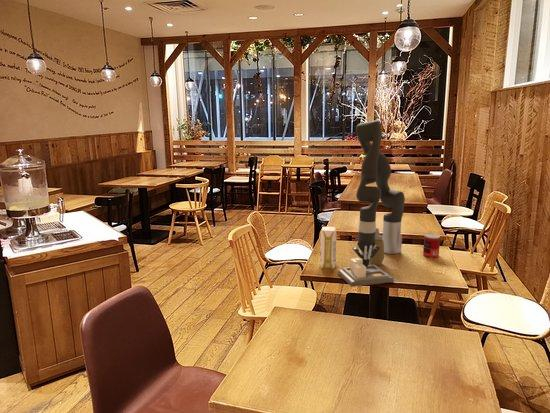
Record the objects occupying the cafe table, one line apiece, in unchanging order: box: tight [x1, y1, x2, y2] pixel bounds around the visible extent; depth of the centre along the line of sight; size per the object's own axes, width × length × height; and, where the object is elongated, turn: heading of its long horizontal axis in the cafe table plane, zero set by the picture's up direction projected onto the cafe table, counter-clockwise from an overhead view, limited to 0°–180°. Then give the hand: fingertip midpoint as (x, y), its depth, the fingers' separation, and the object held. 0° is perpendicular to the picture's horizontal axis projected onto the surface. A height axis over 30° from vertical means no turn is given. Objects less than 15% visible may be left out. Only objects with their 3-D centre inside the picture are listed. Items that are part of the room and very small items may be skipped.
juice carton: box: [319, 226, 337, 270], centre depth 201 cm, size 8×9×19 cm
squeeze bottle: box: [369, 227, 385, 266], centre depth 204 cm, size 8×8×18 cm
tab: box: [353, 263, 366, 278], centre depth 183 cm, size 4×4×6 cm
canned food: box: [422, 233, 441, 259], centre depth 215 cm, size 8×8×11 cm
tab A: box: [349, 257, 363, 271], centre depth 190 cm, size 4×4×6 cm
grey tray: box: [337, 264, 395, 288], centre depth 188 cm, size 20×15×3 cm
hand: (365, 266), depth 191 cm, fingers closed
